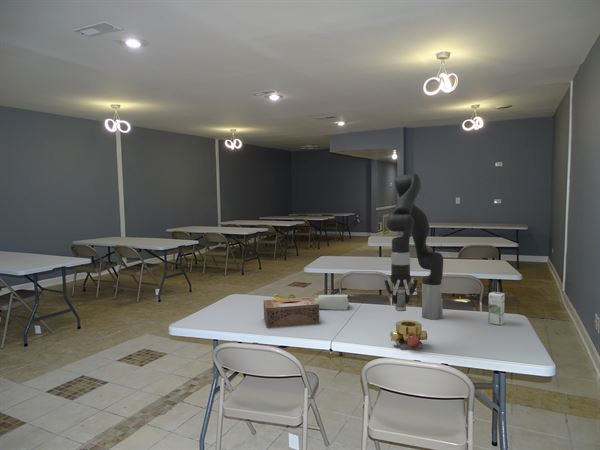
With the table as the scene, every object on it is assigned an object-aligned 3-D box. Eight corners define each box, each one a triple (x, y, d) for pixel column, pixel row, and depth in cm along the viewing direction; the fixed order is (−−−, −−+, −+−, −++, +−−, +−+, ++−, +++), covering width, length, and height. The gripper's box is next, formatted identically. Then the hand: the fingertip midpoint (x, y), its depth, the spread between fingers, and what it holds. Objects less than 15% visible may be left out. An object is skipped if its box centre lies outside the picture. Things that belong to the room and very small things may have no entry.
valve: (422, 340, 175) (422, 319, 174) (431, 351, 163) (431, 329, 162) (388, 341, 175) (388, 320, 174) (395, 352, 163) (395, 330, 162)
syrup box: (504, 322, 196) (505, 292, 195) (500, 325, 192) (501, 295, 190) (492, 320, 200) (492, 291, 199) (487, 323, 195) (488, 293, 194)
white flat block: (309, 294, 249) (307, 294, 224) (347, 294, 247) (348, 294, 222) (309, 308, 247) (307, 309, 223) (347, 308, 245) (349, 309, 221)
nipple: (404, 308, 173) (404, 287, 172) (407, 311, 169) (407, 289, 168) (394, 308, 173) (394, 287, 172) (396, 311, 169) (396, 289, 168)
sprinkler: (291, 312, 221) (308, 302, 239) (289, 300, 221) (307, 291, 238) (257, 310, 233) (276, 301, 250) (256, 299, 232) (275, 290, 249)
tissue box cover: (266, 328, 196) (266, 308, 195) (264, 319, 210) (263, 300, 209) (319, 324, 200) (319, 304, 200) (313, 315, 215) (312, 296, 214)
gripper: (415, 260, 173) (415, 300, 174) (381, 261, 173) (381, 301, 175) (420, 263, 166) (420, 305, 167) (385, 264, 166) (385, 306, 167)
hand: (400, 303), depth 171 cm, fingers closed on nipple, 4 cm apart
